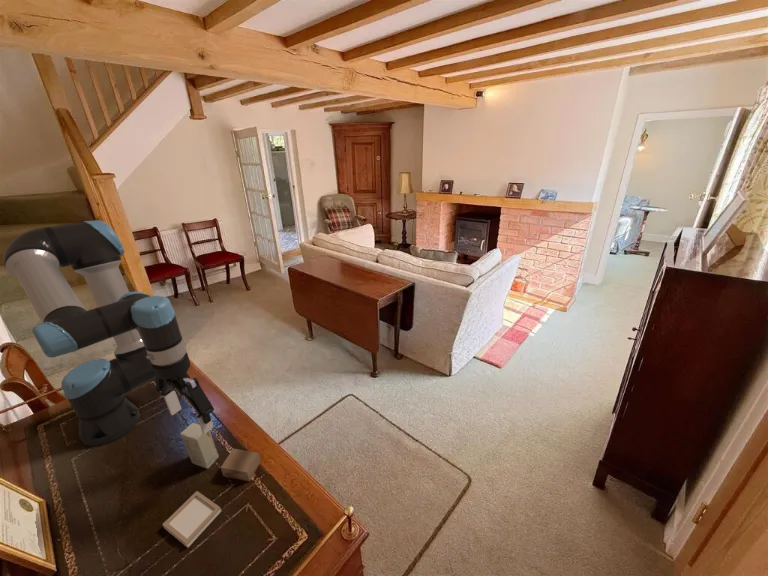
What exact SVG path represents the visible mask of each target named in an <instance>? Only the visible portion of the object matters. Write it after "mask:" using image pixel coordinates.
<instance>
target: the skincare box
mask: <svg viewBox="0 0 768 576" xmlns="http://www.w3.org/2000/svg"><path fill="white" fill-rule="evenodd" d="M210 430H211V429H210ZM210 430H209V431H208V432H207V433H205V434H203V432H202V430H201V427H200V424H199V423H196V422H192V423H190V424H189V425H188V426H187V427H186V428H185V429H183V430H182V432H180V434H179V435H180V437H181V440H182V441H183V444H184V447H185V449H186V450H187V453H188V455H189V456H188V457H189V458H190V461H191V463H192V464H194V465H197V466H199V467H201V468H204V469H206V470H207V469H209V468H211V466H212V465H213V464H214V463H215V462H216V460H217V459H218V458H219V454H218V450H217V448H216V444H215V441H214V439H213V436H212V433H211V431H210Z"/></svg>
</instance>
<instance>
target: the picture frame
mask: <svg viewBox="0 0 768 576" xmlns="http://www.w3.org/2000/svg"><path fill="white" fill-rule="evenodd" d="M221 512H222V509H221V507H220V506H219V505H218V504H216V503H215V502H213V501H212V500H211V499H209V498H208V497H206V496H205V495H204V494H202V493H201V492H199V491H198V490H196V491H195V492H194V493H193V494H192V495H191V496H189V498H188V499H187V500H185V502H184V503H183V504H182V505H181V506H180V507H178V509H176V510H175V512H173V514H172V515H170V516H169V518H168V519H166V520H165V521H164V522H163V523H162V527H163V529H165V531H167V532H168V533H169V534H171V535H172V536H173V537H174V538H175V539H177V540H178V541H179V542H180V543H181V544H183V545H184V546H185V547H186V548H190V546H191V545H192V544H193V543H194V542H195V540H196V539H198V538H199V536H200V535H202V533H203V532H204V531H205V530H206V528H207V527H209V525H210V524H211V523H212V522H213V521H214V520H215V519H216V518H217V517H218V515H219V514H220V513H221Z"/></svg>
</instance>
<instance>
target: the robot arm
mask: <svg viewBox="0 0 768 576" xmlns="http://www.w3.org/2000/svg"><path fill="white" fill-rule="evenodd" d="M124 254H125V249H124V246H123V244H122V242H121V239H120V238H119V236H118V235H117V232H115V231H114V229H113V228H112V226H110V225H109V224H108V223H107V222H105V221H104V220H100V219H99V220H83V221H79V222H72V223H71V222H70V223H64V224H58V225H57V224H56V225H52V226H45V227H35V228H32V229H29V230H27V231H25V232H22V233H21V234H19V235H18V236H17V237H15V238H14V239H13V240H12V241H11V242H10V243H9V244H8V245H7V247H6V249H5V250H4V253H3V257H2V258H3V259H2V261H3V266H4V268H5V270H6V272H7V273H8V275H10V276H11V277H12V278H14V279H15V280H18V282H19V284H20V286H21V287H22V289H23V290H24V292H25V295H26V297H27V299H28V300H29V302H30V304H31V306H32V307H33V309H34V311H35V313H36V315H37V317H38V318H39V320H40V322H41V323H40V324H39V325H36V326H33V328H32V333H33V336H34V337H35V339H36V342H37V343H38V345H39V347H40V349H41V350H42V352H43V354H44V355H45V357H47V358H53V359H54V358H57V357H60V356H63V355H67V354H71V353H74V352H76V351H79V350H81V349H84V348H87V347H90V346H92V345H94V344H97V343H101V342H102V341H105V340H108V339H111V338H113V340H114V342H115V344H116V347H115V349H114V351H113V354H114V356H115V357H114V358H112V359H110V360H109V359H107V358H105V357H103V358H102V357H101V358H96V359H95V358H94V359H93V358H92V359H89V360H87V361H85V362H82V363H81V364H79V365H76V366H75V367H73V368H72V369H71V370H70V371H68V373H66V375H64V377H63V379H62V380H61V385H60V386H61V389H62V392H63V396H64V397H65V399H67V400H68V401H69V403H70V405H71V408H72V409H73V411H74V413H75V415H76V417H77V418H78V437H79V439H80V440H81V442H82V443H83V444H84V445H86V446H90V447H91V446H92V447H94V446H95V447H97V446H101V445H106V444H109V443H112V442H113V441H116V440H118V439H119V438H121V437H123V436H125V435H126V434H127V433H129V432H131V430H132V429H133V428H134V427H135V426H136V425H137V423H138V422H139V421H140V417H141V414H140V411H139V408H138V407H137V405H135V404H134V403H133V402H132V401H130V400H128V398H126V397H125V394H127V393H128V392H131V391H134V390H135V389H137V388H139V387H141V386H143V385H146V384H148V383H149V382H152V381H154V380H155V390H156V391H157V393H158V392H160V394H161V396H163V399H164V401H165V404H166V406H167V408H168V412H169V414H170V416H174V415H175V414H177V413H179V412H180V411H181V410H182V409H183V408H182V406H181V404H180V399H179V397H178V395H177V392H178V394H179V395H180V396H182V397H183V396H184V398H185V399H186V400H187V401H188V403H189V405H191V406H192V408H193V409H194V410H195V412H196V413H197V414H196V418H197V421H198V424H200V427H201V430H202V432H203V434H205V433H207V432H208V431H209V430H212V429H213V428H214V422H213V420H212V417H211V413H212V412H214V411H215V408H214V407H213V404H212V403H211V401H210V400H209V398H208V397H207V395H206V393H205V391H204V390H203V389H202V387H201V385H200V382H199V380H198V378H196V377H193V378H191V376H190V375H189V373H188V371H189V369H190V367H191V360H190V357H189V354H188V352H187V348H186V345H185V342H184V338H183V335H182V333H181V330H180V327H179V323H178V320H177V318H176V313H175V311H176V310H175V309H174V307H173V306H172V303H171V301H170V299H169V298H168V297H167V296H164V295H163V296H162V295H161V296H160V295H150V294H147V293H144V292H142V291H130V290H129V289H128V288H129V287H128V286H127V283H126V281H125V279H124V276H123V275H122V273H121V269H120V268H119V267H120V264H121V263H122V262H123V261H122V257H121V256H123V255H124ZM65 267H66V268H67V267H72V270H73V272H75V273H77V274H79V275H82V276H83V278H84V279H85V282H86V284H87V287H89V290H90V292H91V294H92V296H93V299H94V301H95V302H96V304H97V307H95V308H92V309H89V310H87V309H86V307H85V306H84V304H82V302H81V300H80V299H79V297H78V296H77V294H76V293H75V291H74V290H73V288H72V286H71V285H70V284H69V282H68V281H67V279H66V278H65V276H64V275H63V273H62V272H61V271H60V268H65ZM184 389H185V390H184ZM175 390H176V391H177V392H176V391H175Z"/></svg>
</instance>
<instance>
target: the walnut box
mask: <svg viewBox="0 0 768 576" xmlns="http://www.w3.org/2000/svg"><path fill="white" fill-rule="evenodd" d="M259 465H261V456H260V453H259V452H256V451H255V452H254V451H249V450H244V449H238V448H232V449H231V451H230V453H229V454H228V456H227V457H226V458H225V460H224V461H223V463H222V465H221V466H220V470H221V473H222V476H223V477H225V478H231V479H236V480H241V481H246V482H250V481H251V479H252V478H253V476H254V474H255V473H256V471H257V469H258V467H259Z"/></svg>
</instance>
